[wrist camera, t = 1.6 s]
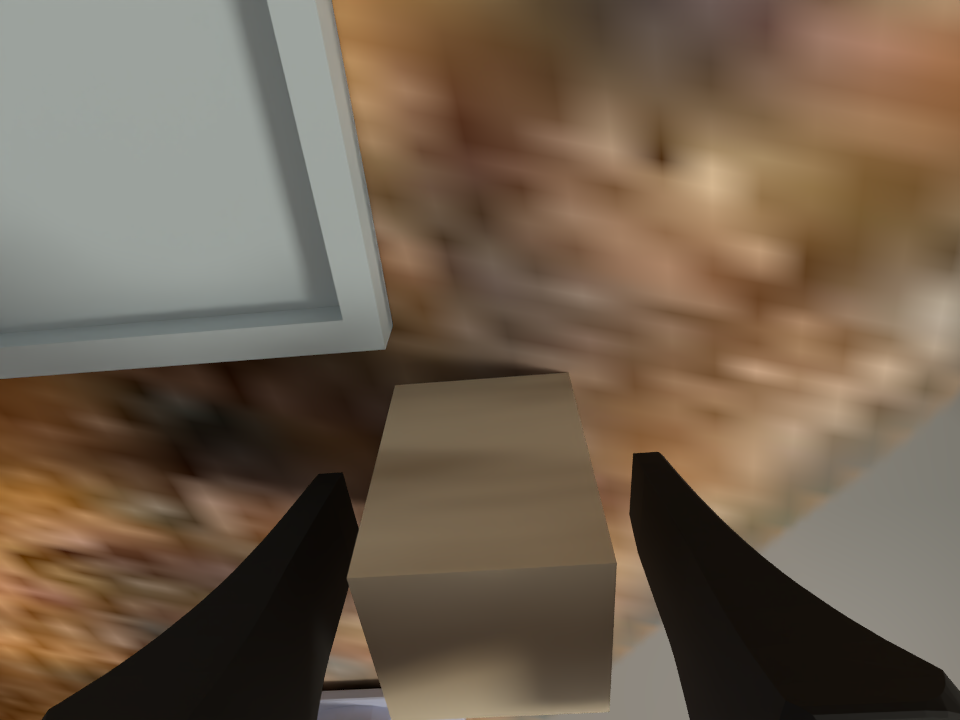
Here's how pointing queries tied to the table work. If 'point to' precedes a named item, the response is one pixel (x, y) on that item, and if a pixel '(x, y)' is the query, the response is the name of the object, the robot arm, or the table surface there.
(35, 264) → the tray
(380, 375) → the table surface
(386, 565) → the beech block
